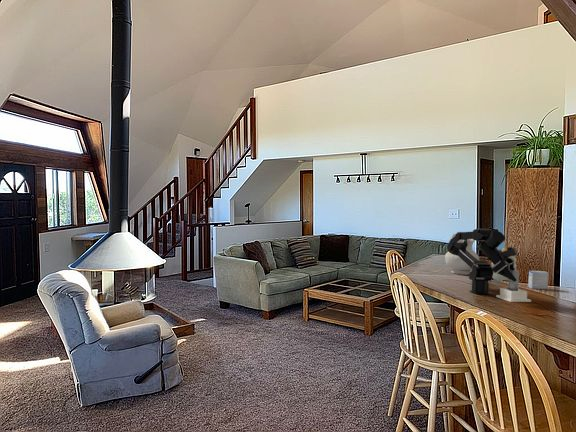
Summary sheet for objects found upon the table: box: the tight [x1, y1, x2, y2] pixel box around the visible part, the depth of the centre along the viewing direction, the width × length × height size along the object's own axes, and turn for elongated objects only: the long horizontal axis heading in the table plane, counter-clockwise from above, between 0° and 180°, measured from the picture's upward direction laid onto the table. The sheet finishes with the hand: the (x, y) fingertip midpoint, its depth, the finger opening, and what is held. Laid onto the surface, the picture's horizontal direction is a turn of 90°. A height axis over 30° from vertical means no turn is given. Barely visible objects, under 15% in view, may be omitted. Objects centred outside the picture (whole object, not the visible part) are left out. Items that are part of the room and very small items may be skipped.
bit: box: [507, 269, 520, 291], centre depth 196 cm, size 4×4×12 cm
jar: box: [491, 247, 517, 281], centre depth 253 cm, size 13×13×18 cm
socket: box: [495, 287, 532, 303], centre depth 196 cm, size 10×10×4 cm
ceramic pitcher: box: [444, 233, 480, 276], centre depth 268 cm, size 22×20×25 cm
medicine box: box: [527, 270, 550, 290], centre depth 225 cm, size 8×4×9 cm, turn 84°
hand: (517, 279), depth 195 cm, fingers open, 7 cm apart
